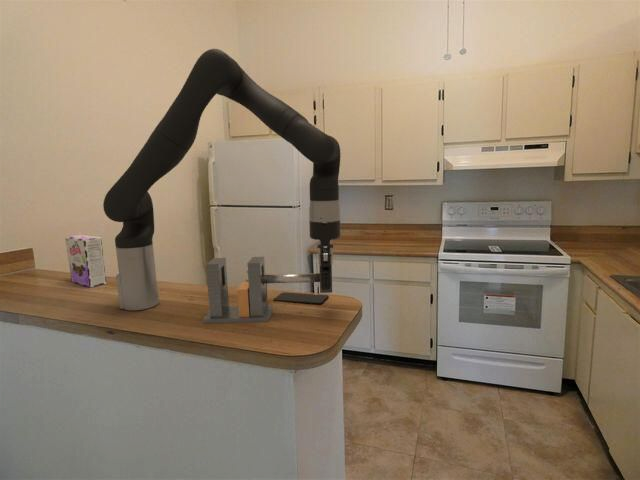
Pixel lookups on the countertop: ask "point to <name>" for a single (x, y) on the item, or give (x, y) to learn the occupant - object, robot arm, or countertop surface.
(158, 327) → the countertop surface
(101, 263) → the candy box
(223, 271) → the bearing bracket
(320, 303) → the smartphone
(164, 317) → the countertop surface
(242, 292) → the spacer
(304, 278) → the shaft
